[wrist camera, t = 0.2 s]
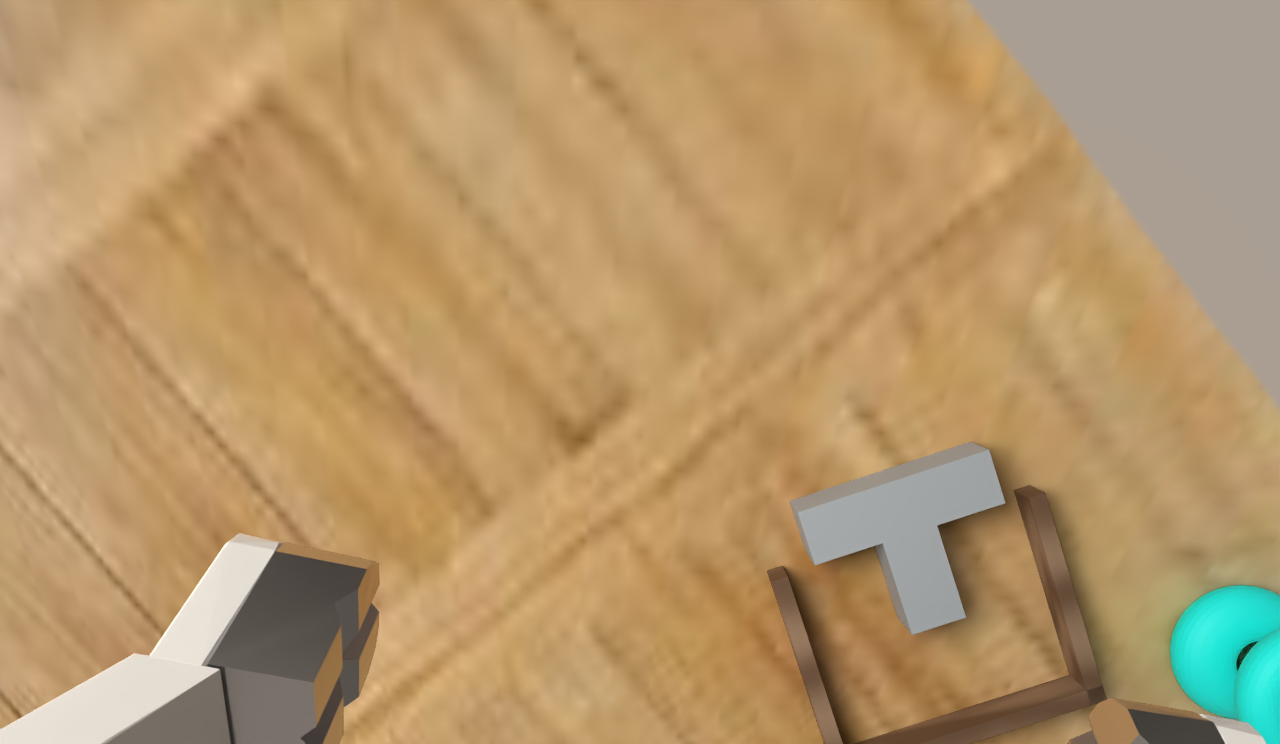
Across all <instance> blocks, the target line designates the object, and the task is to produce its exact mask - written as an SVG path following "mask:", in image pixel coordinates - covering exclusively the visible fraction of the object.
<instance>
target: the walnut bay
mask: <svg viewBox="0 0 1280 744" xmlns="http://www.w3.org/2000/svg"><path fill="white" fill-rule="evenodd" d="M1014 492H1015V495H1016V499H1017V502H1018V505H1019V509H1020V512H1021V515H1022V519H1023V522H1024V525H1025V529H1026V532H1027V535H1028V539H1029V542H1030V545H1031V549H1032V552H1033V555H1034V559H1035V562H1036V565H1037V569H1038V572H1039V575H1040V579H1041V582H1042V585H1043V589H1044V592H1045V595H1046V599H1047V602H1048V605H1049V609H1050V612H1051V615H1052V619H1053V622H1054V625H1055V629H1056V632H1057V635H1058V639H1059V642H1060V645H1061V649H1062V652H1063V655H1064V659H1065V662H1066V665H1067V668H1068V672H1069V676H1065V677H1062V678H1059V679H1056V680H1053V681H1050V682H1047V683H1043V684H1040V685H1037V686H1034V687H1031V688H1028V689H1025V690H1022V691H1018V692H1015V693H1012V694H1009V695H1006V696H1003V697H1000V698H996V699H993V700H990V701H987V702H984V703H981V704H978V705H974V706H971V707H968V708H965V709H962V710H959V711H956V712H953V713H949V714H946V715H943V716H940V717H937V718H934V719H931V720H927V721H924V722H921V723H918V724H915V725H912V726H909V727H905V728H902V729H899V730H896V731H893V732H890V733H887V734H883V735H880V736H877V737H874V738H871V739H868V740H865V741H862V742H858V743H855V744H971V743H974V742H977V741H980V740H983V739H987V738H990V737H993V736H996V735H999V734H1002V733H1006V732H1009V731H1012V730H1015V729H1018V728H1021V727H1024V726H1028V725H1031V724H1034V723H1037V722H1040V721H1043V720H1046V719H1050V718H1053V717H1056V716H1059V715H1062V714H1065V713H1069V712H1072V711H1075V710H1078V709H1081V708H1084V707H1087V706H1091V705H1094V704H1097V703H1099V702H1102V701H1104V700H1107V699H1106V696H1105V693H1104V689H1103V686H1102V683H1101V679H1100V676H1099V672H1098V669H1097V666H1096V662H1095V659H1094V656H1093V652H1092V649H1091V645H1090V642H1089V639H1088V635H1087V632H1086V629H1085V625H1084V622H1083V619H1082V615H1081V612H1080V608H1079V605H1078V602H1077V598H1076V595H1075V592H1074V588H1073V585H1072V582H1071V578H1070V575H1069V571H1068V568H1067V565H1066V561H1065V558H1064V555H1063V551H1062V548H1061V545H1060V541H1059V538H1058V534H1057V531H1056V528H1055V524H1054V521H1053V518H1052V514H1051V511H1050V507H1049V504H1048V501H1047V497H1046V494H1045V493H1044V492H1042V491H1040V490H1038V489H1036V488H1034V487H1032V486H1030V485H1029V486H1026V487H1023V488H1019V489H1016V490H1014ZM767 572H768V575H769V579H770V582H771V585H772V588H773V591H774V594H775V597H776V600H777V603H778V606H779V609H780V612H781V615H782V618H783V621H784V624H785V627H786V630H787V633H788V636H789V639H790V642H791V645H792V648H793V651H794V654H795V657H796V660H797V663H798V666H799V669H800V672H801V675H802V678H803V681H804V684H805V687H806V690H807V693H808V696H809V699H810V702H811V706H812V709H813V712H814V715H815V718H816V721H817V724H818V727H819V730H820V733H821V736H822V739H823V742H824V744H843V743H842V740H841V737H840V734H839V731H838V728H837V725H836V722H835V718H834V715H833V712H832V709H831V706H830V703H829V700H828V697H827V694H826V691H825V688H824V685H823V682H822V679H821V676H820V673H819V670H818V667H817V664H816V661H815V658H814V655H813V652H812V648H811V645H810V642H809V639H808V636H807V633H806V630H805V627H804V624H803V621H802V618H801V615H800V612H799V609H798V606H797V603H796V600H795V597H794V594H793V591H792V588H791V585H790V582H789V578H788V576H787V574H786V572H785V570H784V568H783V566H780V567H777V568H774V569H771V570H768V571H767Z"/></svg>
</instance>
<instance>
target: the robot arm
mask: <svg viewBox="0 0 1280 744" xmlns="http://www.w3.org/2000/svg"><path fill="white" fill-rule="evenodd" d="M378 586H379V563H377V562H375V561H371V560H366V559H362V558H357V557H352V556H348V555H343V554H338V553H334V552H329V551H324V550H320V549H315V548H310V547H306V546H301V545H296V544H292V543H287V542H280V541H275V540H270V539H265V538H261V537H256V536H251V535H246V534H241V533H239V534H237V535H236V536H235V537H234V538H232V539H231V540H230V541H228V542H227V543H226V544H225V545H224V547H223V548H222V550H221V551H220V552H219V554H218V555H217V557H216V558H215V560H214V561H213V563H212V564H211V566H210V567H209V569H208V570H207V572H206V573H205V575H204V576H203V577H202V579H201V580H200V582H199V583H198V585H197V586H196V588H195V589H194V591H193V592H192V594H191V595H190V597H189V598H188V600H187V601H186V602H185V604H184V605H183V607H182V608H181V610H180V611H179V613H178V614H177V616H176V617H175V619H174V620H173V622H172V623H171V625H170V626H169V627H168V629H167V630H166V632H165V633H164V635H163V636H162V638H161V639H160V641H159V642H158V644H157V645H156V647H155V648H154V650H153V651H152V652H151V654H150V655H143V654H136V653H134V654H133V655H131V656H129V657H127V658H126V659H124V660H122V661H120V662H118V663H117V664H115V665H113V666H111V667H110V668H108V669H106V670H104V671H103V672H101V673H99V674H97V675H95V676H94V677H92V678H90V679H88V680H87V681H85V682H83V683H81V684H80V685H78V686H76V687H74V688H73V689H71V690H69V691H67V692H65V693H64V694H62V695H60V696H58V697H57V698H55V699H53V700H51V701H50V702H48V703H46V704H44V705H43V706H41V707H39V708H37V709H35V710H34V711H32V712H30V713H28V714H27V715H25V716H23V717H21V718H20V719H18V720H16V721H14V722H13V723H11V724H9V725H7V726H5V727H4V728H2V729H0V744H340V741H341V739H342V737H343V734H344V707H345V706H346V705H348V704H349V703H351V702H352V701H353V700H355V699H356V698H358V697H359V695H360V693H361V690H362V688H363V685H364V682H365V680H366V677H367V675H368V672H369V668H370V665H371V661H372V658H373V654H374V651H375V647H376V641H377V635H378V628H379V611H378V610H377V609H376V608H375V606H374V605H373V604H372V600H373V598H374V596H375V593H376V591H377V589H378ZM1088 719H1089V722H1090V725H1091V729H1092V731H1089V732H1087V733H1085V734H1082V735H1080V736H1078V737H1075V738H1073V739H1071V740H1069V742H1068V743H1067V744H1266V742H1265V740H1264V738H1263V737H1262V736H1261V734H1260V733H1259V732H1258V731H1257V730H1256V729H1254V728H1253V727H1252V726H1251V725H1250V724H1249V723H1247V722H1241V721H1236V720H1231V719H1225V718H1220V717H1214V716H1209V715H1204V714H1196V713H1194V712H1191V711H1185V710H1179V709H1174V708H1168V707H1162V706H1156V705H1151V704H1145V703H1139V702H1133V701H1128V700H1122V699H1116V698H1110V699H1107V700H1104V701H1102V702H1099V703H1098V704H1097V705H1096V707H1095V708H1094V709H1093V710H1092V712H1091V713H1090V714H1089V715H1088Z"/></svg>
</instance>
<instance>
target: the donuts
mask: <svg viewBox="0 0 1280 744" xmlns="http://www.w3.org/2000/svg"><path fill="white" fill-rule="evenodd" d="M1257 641H1258V642H1257ZM1253 642H1257V643H1256V644H1255V645H1254V646H1253V647H1252V648H1251V649H1250V651H1249V652H1248V653H1247V655H1246V656H1245V658H1244V659H1243V661H1242V663H1241V665H1240V667H1239V670H1237V666H1236V662H1237V657H1238V655H1239V653H1240V652H1241V651H1242V649H1243V648H1244V647H1246V646H1247V645H1248V644H1250V643H1253ZM1170 658H1171V665H1172V669H1173V672H1174V675H1175V677H1176V679H1177V681H1178V683H1179V685H1180V686H1181V688H1182V689H1183V691H1184V692H1185V693H1186V694H1187V695H1188V696H1189V698H1190V699H1192V700H1193V701H1194V702H1195V703H1196V704H1198V705H1199V706H1200V707H1202V708H1203V709H1205V710H1207V711H1209V712H1211V713H1213V714H1216V715H1219V716H1221V717H1225V718H1230V719H1238V720H1239V721H1241V722H1247V723H1249V724H1250V725H1251V726H1252V727H1253V728H1254V729H1256V730H1257V731H1258V732H1259V733H1260V734H1261V736H1262V737H1263V738H1264V740H1265V742H1266V744H1280V595H1278V594H1276V593H1274V592H1272V591H1269V590H1267V589H1264V588H1260V587H1255V586H1247V585H1234V586H1228V587H1223V588H1219V589H1216V590H1213V591H1211V592H1209V593H1207V594H1205V595H1203V596H1201V597H1200V598H1198V599H1197V600H1196V601H1194V602H1193V603H1192V604H1191V605H1190V606H1189V607H1188V608H1187V609H1186V610H1185V611H1184V613H1183V614H1182V615H1181V617H1180V618H1179V620H1178V622H1177V624H1176V626H1175V628H1174V631H1173V634H1172V638H1171V644H1170Z"/></svg>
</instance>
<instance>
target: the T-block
mask: <svg viewBox="0 0 1280 744" xmlns="http://www.w3.org/2000/svg"><path fill="white" fill-rule="evenodd" d="M1002 504H1005V500H1004V497H1003V493H1002V490H1001V487H1000V484H999V480H998V477H997V474H996V471H995V467H994V464H993V461H992V458H991V454H990V451H989V449H986V448H984V447H982V446H979V445H977V444H975V443H972V442H968V443H965V444H962V445H959V446H956V447H953V448H950V449H947V450H944V451H941V452H938V453H935V454H932V455H929V456H926V457H922V458H919V459H916V460H913V461H910V462H907V463H904V464H901V465H898V466H895V467H892V468H889V469H886V470H883V471H880V472H877V473H874V474H871V475H868V476H865V477H862V478H858V479H855V480H852V481H849V482H846V483H843V484H840V485H837V486H834V487H831V488H828V489H825V490H822V491H819V492H816V493H813V494H810V495H807V496H804V497H801V498H798V499H794V500H791V501H790V505H791V508H792V511H793V514H794V517H795V520H796V523H797V526H798V529H799V532H800V535H801V538H802V541H803V544H804V547H805V551H806V552H807V554H808V555H809V557H810V558H811V560H812V562H813V563H814V565H817V564H821V563H824V562H827V561H830V560H833V559H836V558H839V557H842V556H845V555H848V554H851V553H854V552H857V551H860V550H864V549H867V548H870V547H873V546H875V548H876V551H877V554H878V557H879V560H880V564H881V567H882V570H883V573H884V576H885V579H886V582H887V585H888V589H889V592H890V595H891V598H892V601H893V604H894V607H895V610H896V614H897V617H898V618H899V619H900V621H901V622H902V623H903V624H904V626H905V627H906V628H907V629H908V631H909V632H910V633H911V634H912V635H913V634H917V633H920V632H923V631H926V630H929V629H932V628H935V627H938V626H941V625H944V624H948V623H951V622H954V621H957V620H960V619H963V618H966V616H965V613H964V609H963V606H962V603H961V600H960V597H959V593H958V590H957V587H956V584H955V581H954V578H953V574H952V571H951V568H950V565H949V562H948V558H947V555H946V552H945V549H944V546H943V542H942V539H941V536H940V533H939V530H938V527H937V525H940V524H943V523H946V522H949V521H953V520H956V519H959V518H962V517H965V516H968V515H971V514H974V513H977V512H980V511H983V510H986V509H989V508H992V507H995V506H999V505H1002Z"/></svg>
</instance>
